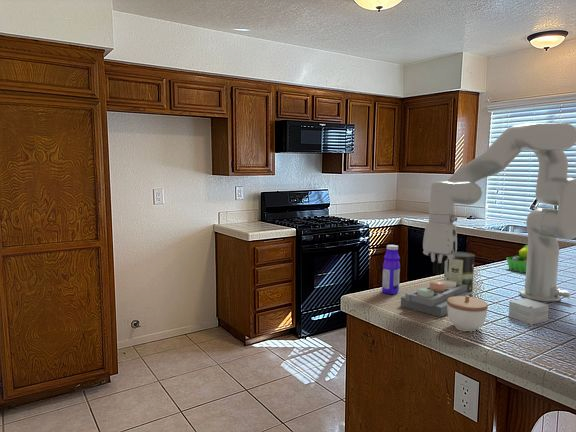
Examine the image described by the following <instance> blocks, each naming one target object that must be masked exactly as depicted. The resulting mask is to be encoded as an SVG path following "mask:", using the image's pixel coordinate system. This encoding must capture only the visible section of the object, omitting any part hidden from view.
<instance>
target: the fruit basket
mask: <svg viewBox="0 0 576 432" xmlns="http://www.w3.org/2000/svg"><path fill="white" fill-rule="evenodd" d="M527 252H528V244H525V245H524V246H523V247H522V248H521V249H519V250H518V255H515V256H511V257H510V256H508V257H506V259H505V260H506V261H507V265H508V269H509V270H512V269H513V270H514V271H516V270H518V271H517V272H520V271H522V272H521V273H525V272H526V265H527Z"/></svg>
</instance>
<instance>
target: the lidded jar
mask: <svg viewBox="0 0 576 432" xmlns="http://www.w3.org/2000/svg"><path fill="white" fill-rule="evenodd" d="M488 307H489V305H488V303H487V302H486V301H485V300H482V299H480V298H477V297H473V296H472V297H469V296H454V297H449V298H448V299H447V313H448V314H447V317H448V320H449V322H450V323H451V324H452V325H453V327H454V326H455V327H456V328H457V329H456V328H455V327H454V328H455V329H456V330H458V329H460V330H459V331H461V330H464V331H463V332H466V331H474V332H476V330H477V331H478V329H480V328H481V327H482V326H483V325H484V323H485V321H486V318H487V313H488Z"/></svg>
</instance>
